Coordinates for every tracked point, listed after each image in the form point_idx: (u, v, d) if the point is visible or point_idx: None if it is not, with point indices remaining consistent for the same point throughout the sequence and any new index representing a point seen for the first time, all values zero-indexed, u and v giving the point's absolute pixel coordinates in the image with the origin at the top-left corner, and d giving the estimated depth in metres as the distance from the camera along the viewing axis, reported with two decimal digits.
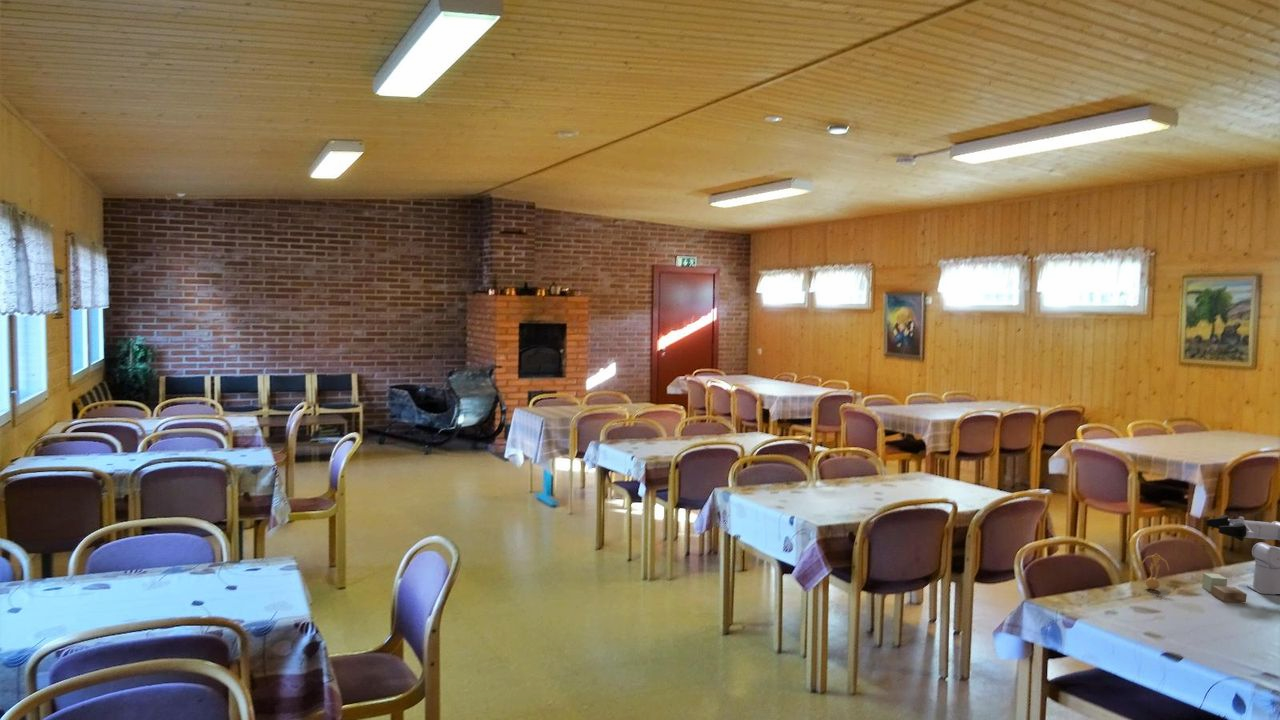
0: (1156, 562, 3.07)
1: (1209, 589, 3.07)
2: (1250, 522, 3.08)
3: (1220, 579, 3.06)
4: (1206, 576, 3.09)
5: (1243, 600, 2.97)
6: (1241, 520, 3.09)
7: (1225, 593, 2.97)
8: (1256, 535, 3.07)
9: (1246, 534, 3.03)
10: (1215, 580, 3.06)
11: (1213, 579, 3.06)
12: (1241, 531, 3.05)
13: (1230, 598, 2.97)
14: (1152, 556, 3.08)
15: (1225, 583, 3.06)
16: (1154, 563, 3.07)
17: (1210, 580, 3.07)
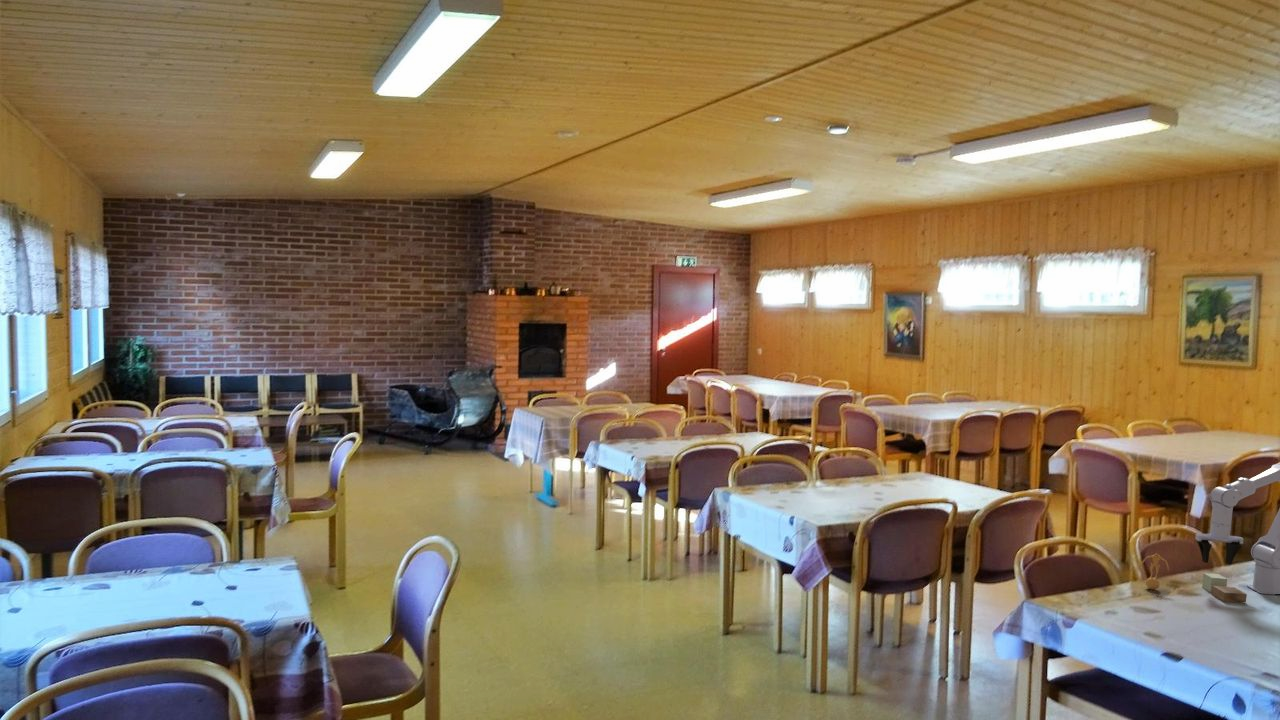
0: (1156, 562, 3.07)
1: (1209, 589, 3.07)
2: (1227, 532, 3.05)
3: (1220, 579, 3.06)
4: (1206, 576, 3.09)
5: (1243, 600, 2.97)
6: (1226, 540, 3.05)
7: (1225, 593, 2.97)
8: None
9: None
10: (1215, 580, 3.06)
11: (1213, 579, 3.06)
12: None
13: (1230, 598, 2.97)
14: (1152, 556, 3.08)
15: (1225, 583, 3.06)
16: (1154, 563, 3.07)
17: (1210, 580, 3.07)
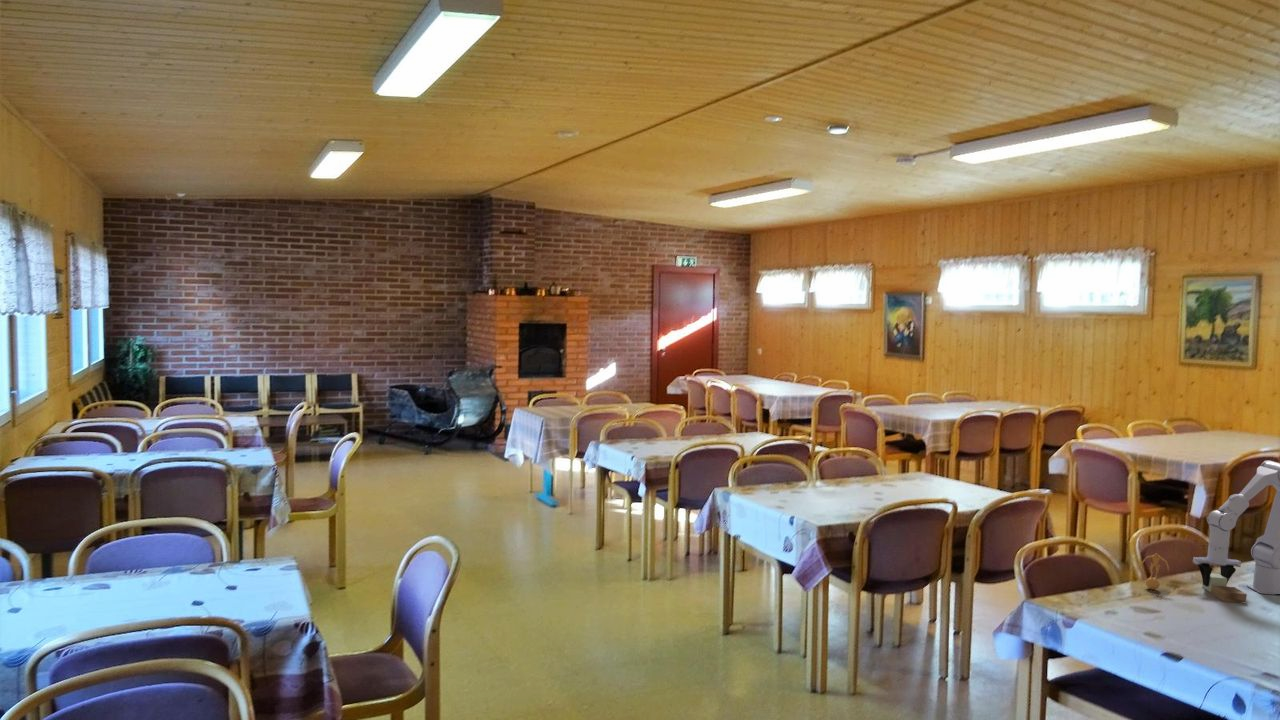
0: (1156, 562, 3.07)
1: (1209, 589, 3.07)
2: (1225, 555, 3.05)
3: (1220, 579, 3.06)
4: None
5: (1243, 600, 2.97)
6: None
7: (1225, 593, 2.97)
8: None
9: None
10: (1215, 580, 3.06)
11: (1213, 579, 3.06)
12: None
13: (1230, 598, 2.97)
14: (1152, 556, 3.08)
15: (1225, 583, 3.06)
16: (1154, 563, 3.07)
17: (1210, 579, 3.07)
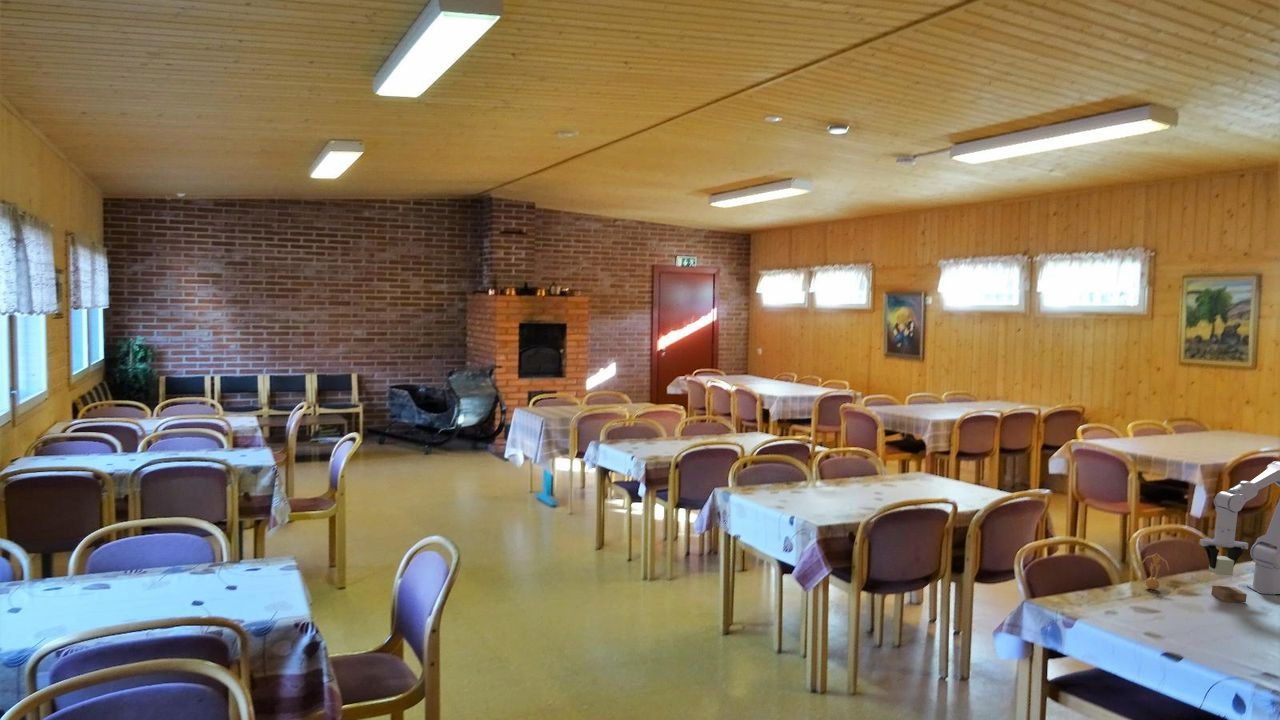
0: (1156, 562, 3.07)
1: (1216, 571, 3.04)
2: (1232, 537, 3.02)
3: (1227, 561, 3.03)
4: None
5: (1243, 600, 2.97)
6: None
7: (1225, 593, 2.97)
8: None
9: None
10: (1222, 562, 3.03)
11: (1220, 561, 3.03)
12: None
13: (1230, 598, 2.97)
14: (1152, 556, 3.08)
15: (1232, 565, 3.03)
16: (1154, 563, 3.07)
17: (1217, 561, 3.03)
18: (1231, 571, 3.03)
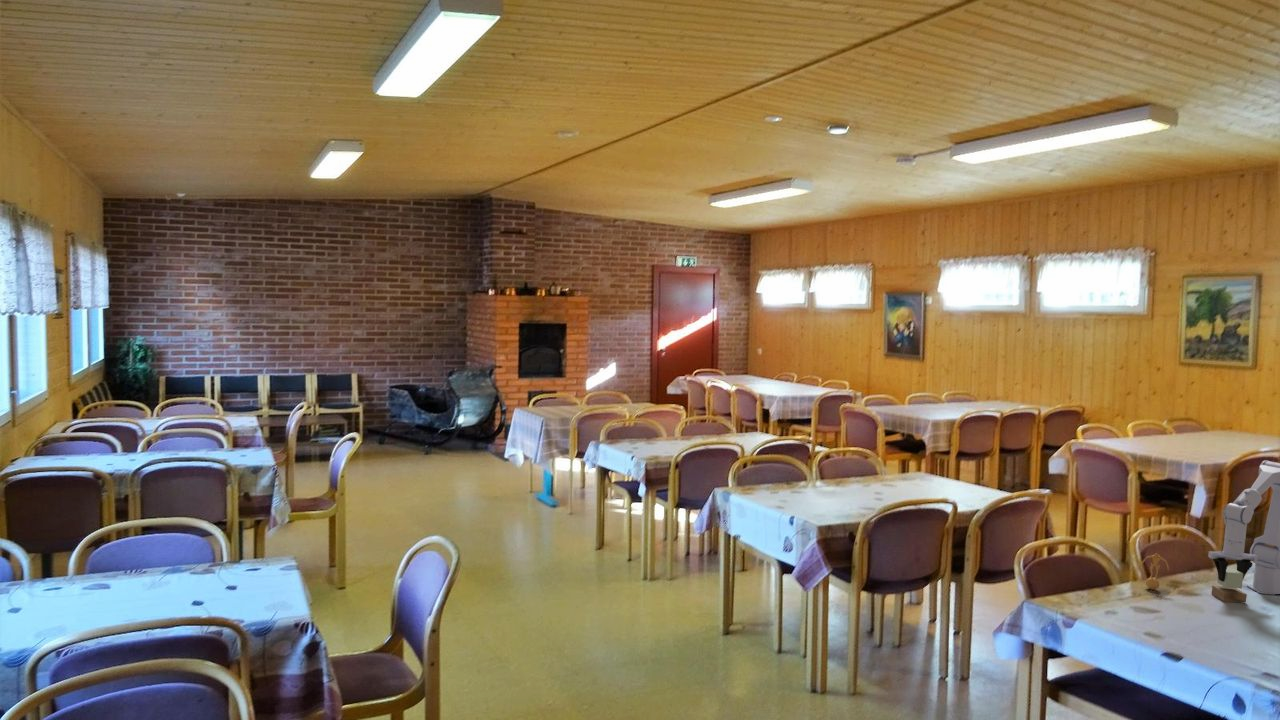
0: (1156, 562, 3.07)
1: (1225, 584, 2.99)
2: (1241, 549, 2.96)
3: (1236, 574, 2.98)
4: None
5: (1243, 600, 2.97)
6: (1240, 558, 2.96)
7: (1225, 593, 2.97)
8: None
9: None
10: (1231, 575, 2.98)
11: (1229, 574, 2.98)
12: None
13: (1230, 598, 2.97)
14: (1152, 556, 3.08)
15: (1241, 578, 2.98)
16: (1154, 563, 3.07)
17: (1226, 574, 2.98)
18: (1240, 584, 2.98)
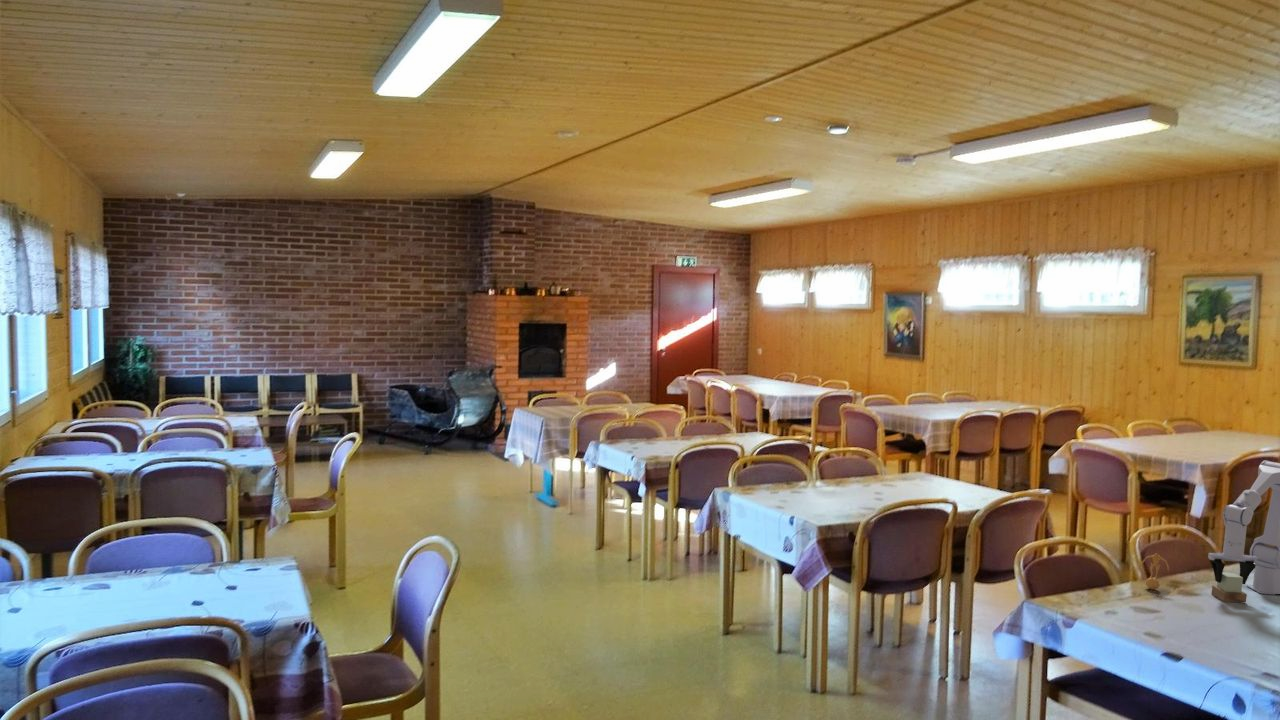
0: (1156, 562, 3.07)
1: (1224, 588, 2.99)
2: (1241, 551, 2.97)
3: (1235, 578, 2.98)
4: None
5: (1243, 600, 2.97)
6: None
7: (1225, 593, 2.97)
8: None
9: None
10: (1230, 579, 2.98)
11: (1228, 578, 2.98)
12: None
13: (1230, 598, 2.97)
14: (1152, 556, 3.08)
15: (1241, 582, 2.98)
16: (1154, 563, 3.07)
17: (1225, 578, 2.98)
18: (1240, 588, 2.98)
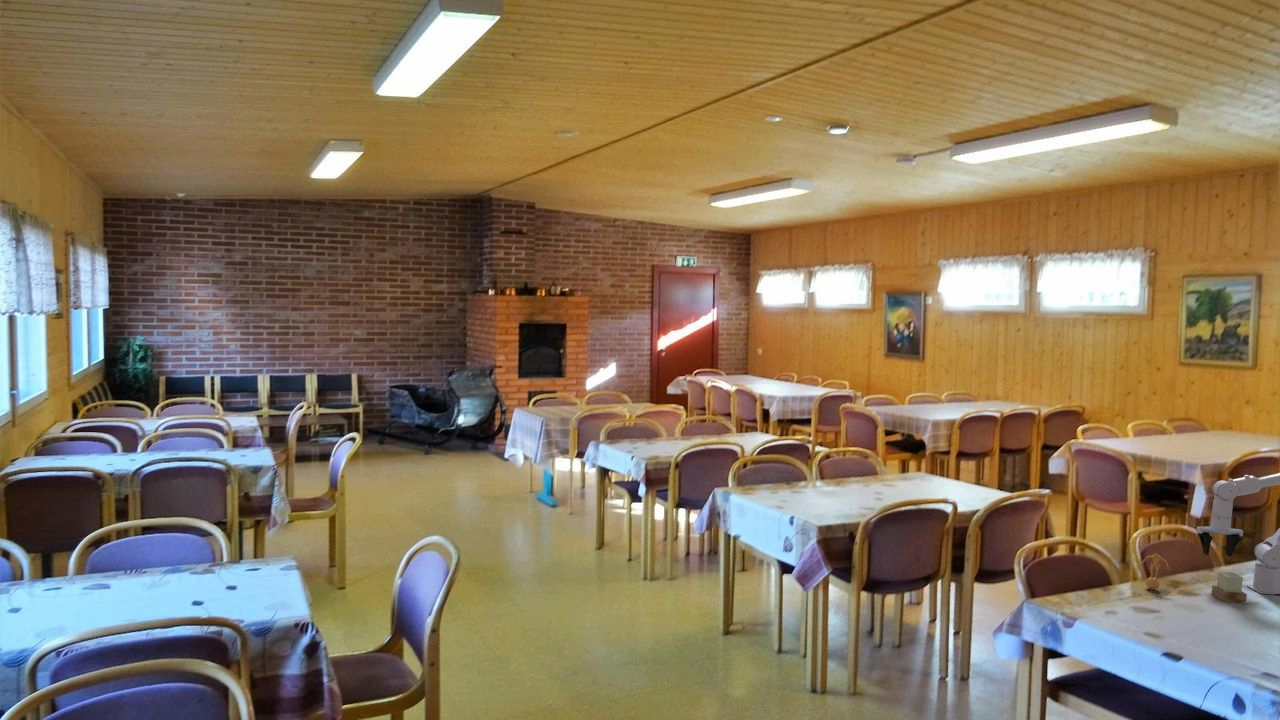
0: (1156, 562, 3.07)
1: (1224, 588, 2.99)
2: (1228, 524, 3.11)
3: (1235, 578, 2.98)
4: (1221, 575, 3.01)
5: (1243, 600, 2.97)
6: None
7: (1225, 593, 2.97)
8: None
9: None
10: (1230, 579, 2.98)
11: (1228, 578, 2.98)
12: None
13: (1230, 598, 2.97)
14: (1152, 556, 3.08)
15: (1241, 582, 2.98)
16: (1154, 563, 3.07)
17: (1225, 578, 2.98)
18: (1240, 588, 2.98)
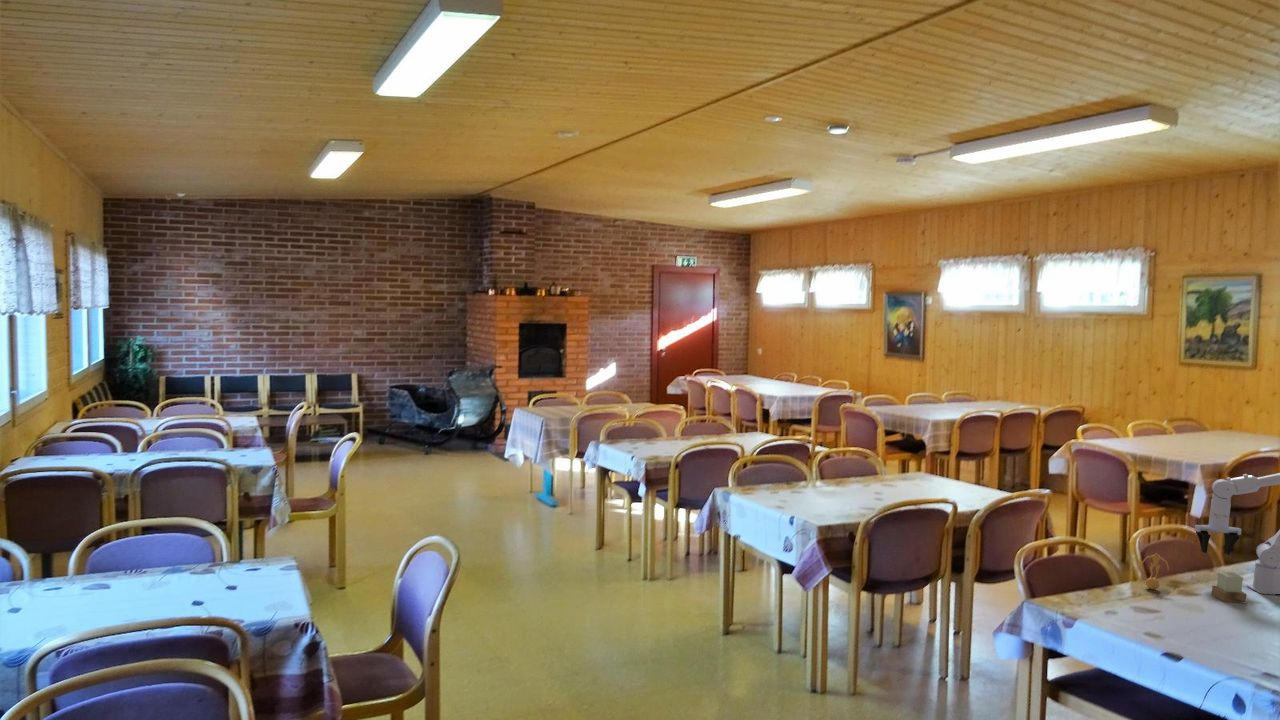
0: (1156, 562, 3.07)
1: (1224, 588, 2.99)
2: (1226, 523, 3.13)
3: (1235, 578, 2.98)
4: (1221, 575, 3.01)
5: (1243, 600, 2.97)
6: None
7: (1225, 593, 2.97)
8: None
9: None
10: (1230, 579, 2.98)
11: (1228, 578, 2.98)
12: None
13: (1230, 598, 2.97)
14: (1152, 556, 3.08)
15: (1241, 582, 2.98)
16: (1154, 563, 3.07)
17: (1225, 578, 2.98)
18: (1240, 588, 2.98)
